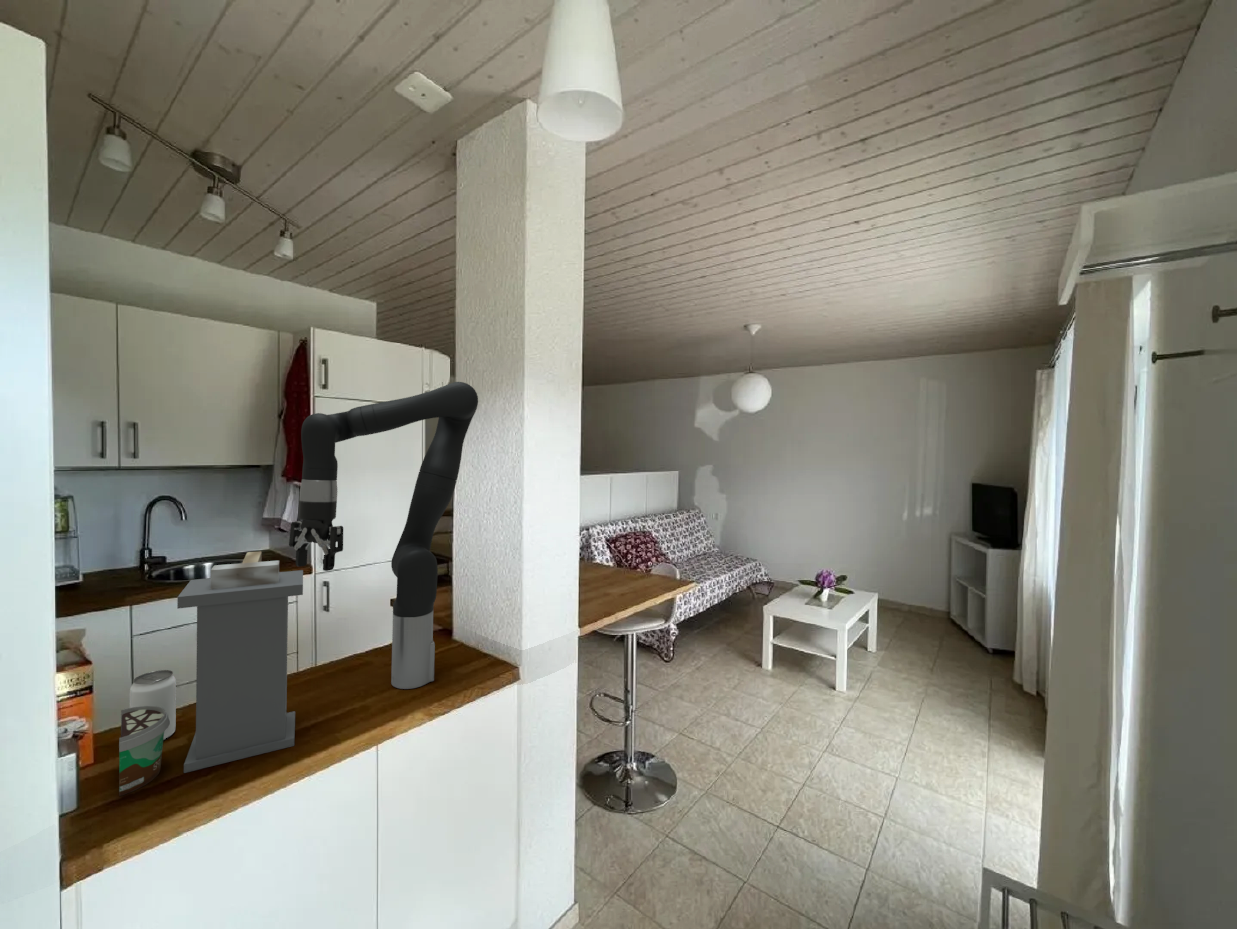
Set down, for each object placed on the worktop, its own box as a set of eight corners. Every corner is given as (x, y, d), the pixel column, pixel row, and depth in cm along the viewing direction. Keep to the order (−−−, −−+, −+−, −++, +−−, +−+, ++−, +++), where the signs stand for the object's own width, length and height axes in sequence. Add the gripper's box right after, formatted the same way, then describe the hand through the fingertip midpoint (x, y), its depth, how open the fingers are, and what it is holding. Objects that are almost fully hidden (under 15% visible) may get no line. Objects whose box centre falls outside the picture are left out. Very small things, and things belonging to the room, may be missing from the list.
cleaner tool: (281, 560, 111) (282, 545, 111) (278, 583, 94) (278, 564, 94) (225, 565, 105) (225, 549, 105) (210, 589, 88) (210, 570, 88)
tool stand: (300, 714, 104) (303, 570, 104) (300, 744, 94) (302, 584, 93) (189, 739, 95) (191, 579, 94) (176, 775, 85) (177, 597, 84)
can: (147, 750, 91) (147, 686, 91) (120, 744, 92) (120, 681, 92) (184, 730, 97) (184, 671, 97) (158, 726, 99) (158, 667, 98)
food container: (171, 784, 83) (171, 725, 82) (118, 801, 78) (119, 739, 78) (168, 750, 91) (168, 697, 91) (120, 764, 87) (121, 708, 87)
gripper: (355, 500, 116) (351, 569, 116) (310, 496, 121) (307, 561, 121) (326, 502, 109) (322, 575, 109) (281, 497, 114) (277, 567, 114)
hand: (314, 568), depth 115 cm, fingers open, 8 cm apart
